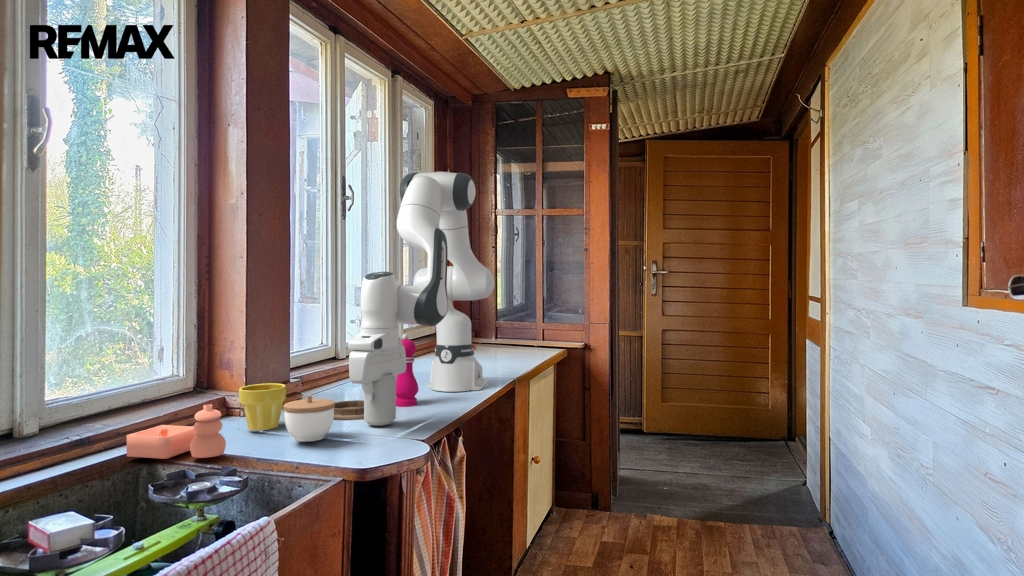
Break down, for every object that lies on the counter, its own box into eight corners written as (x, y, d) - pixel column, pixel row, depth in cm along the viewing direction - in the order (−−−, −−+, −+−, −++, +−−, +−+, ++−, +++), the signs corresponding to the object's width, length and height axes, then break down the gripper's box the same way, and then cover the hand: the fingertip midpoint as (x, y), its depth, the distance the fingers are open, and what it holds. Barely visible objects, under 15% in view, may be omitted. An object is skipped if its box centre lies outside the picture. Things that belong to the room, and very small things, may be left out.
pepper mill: (416, 407, 174) (415, 334, 174) (389, 407, 174) (389, 334, 174) (420, 402, 181) (420, 332, 181) (395, 402, 181) (395, 332, 181)
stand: (344, 407, 173) (344, 398, 173) (388, 411, 169) (388, 401, 169) (311, 417, 160) (311, 408, 160) (359, 421, 156) (359, 411, 156)
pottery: (126, 456, 126) (126, 406, 126) (162, 444, 135) (162, 398, 135) (205, 461, 122) (205, 410, 122) (237, 449, 131) (236, 401, 131)
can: (357, 423, 150) (357, 373, 150) (378, 417, 157) (378, 369, 157) (381, 427, 147) (382, 376, 146) (402, 421, 153) (402, 372, 153)
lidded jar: (283, 435, 142) (283, 393, 142) (332, 431, 146) (332, 390, 146) (284, 446, 132) (283, 401, 132) (337, 441, 136) (336, 398, 136)
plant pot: (236, 434, 143) (235, 391, 143) (242, 424, 153) (242, 384, 153) (284, 431, 146) (284, 388, 146) (287, 422, 156) (287, 382, 156)
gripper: (390, 335, 162) (390, 389, 162) (343, 343, 143) (344, 404, 143) (412, 336, 160) (412, 390, 160) (367, 343, 141) (368, 405, 141)
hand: (380, 397), depth 152 cm, fingers closed on can, 7 cm apart
